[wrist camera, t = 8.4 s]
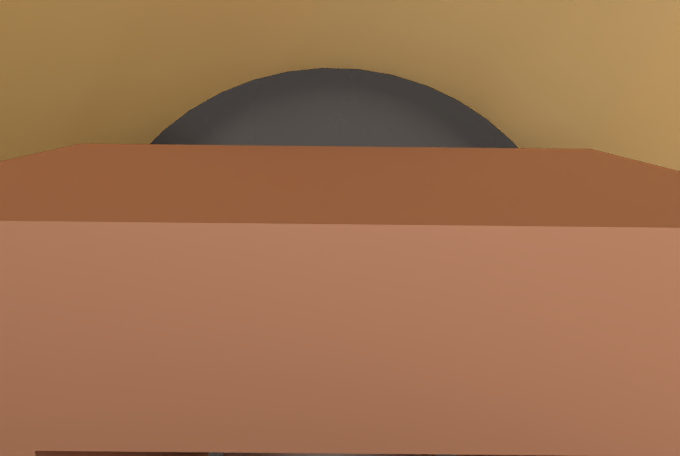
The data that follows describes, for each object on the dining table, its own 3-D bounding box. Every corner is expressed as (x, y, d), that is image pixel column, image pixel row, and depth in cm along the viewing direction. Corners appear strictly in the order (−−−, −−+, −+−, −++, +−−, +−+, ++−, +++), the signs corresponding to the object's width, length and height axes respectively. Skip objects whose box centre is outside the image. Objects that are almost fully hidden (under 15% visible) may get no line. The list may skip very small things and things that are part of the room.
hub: (59, 367, 17) (-259, 688, 8) (234, -16, 15) (66, -183, 6) (411, 529, 19) (483, 962, 9) (626, 202, 16) (1010, 357, 7)
